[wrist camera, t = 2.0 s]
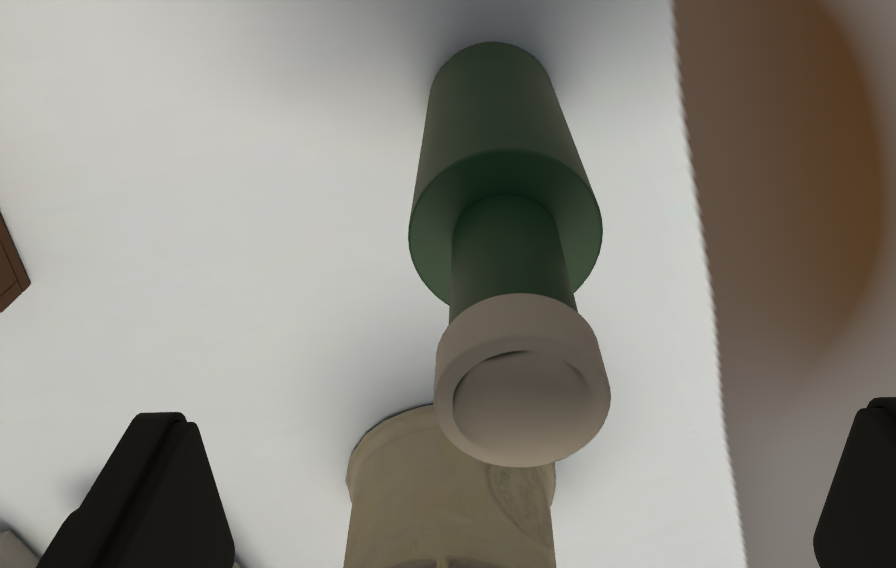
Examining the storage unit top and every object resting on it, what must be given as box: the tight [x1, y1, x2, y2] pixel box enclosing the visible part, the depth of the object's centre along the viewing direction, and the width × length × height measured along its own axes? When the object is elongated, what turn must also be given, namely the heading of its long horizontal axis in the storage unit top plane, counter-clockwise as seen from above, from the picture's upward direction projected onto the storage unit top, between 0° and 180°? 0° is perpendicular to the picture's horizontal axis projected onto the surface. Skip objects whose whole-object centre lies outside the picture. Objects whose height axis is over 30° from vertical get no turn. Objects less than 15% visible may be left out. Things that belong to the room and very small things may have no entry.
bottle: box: [408, 42, 611, 467], centre depth 17 cm, size 4×4×16 cm
